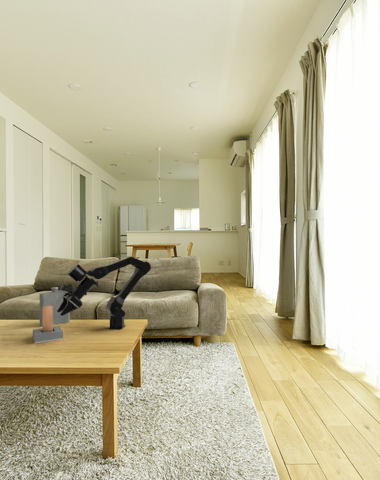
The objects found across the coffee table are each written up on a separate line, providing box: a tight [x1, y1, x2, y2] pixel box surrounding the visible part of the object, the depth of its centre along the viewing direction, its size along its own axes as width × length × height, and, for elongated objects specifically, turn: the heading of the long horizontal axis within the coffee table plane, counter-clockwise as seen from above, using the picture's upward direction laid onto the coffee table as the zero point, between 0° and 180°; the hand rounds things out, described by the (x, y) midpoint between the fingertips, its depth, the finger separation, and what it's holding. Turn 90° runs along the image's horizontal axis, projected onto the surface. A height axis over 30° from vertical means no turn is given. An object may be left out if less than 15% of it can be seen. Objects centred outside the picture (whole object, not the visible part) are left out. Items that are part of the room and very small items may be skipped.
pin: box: [41, 306, 54, 333], centre depth 144 cm, size 4×4×14 cm
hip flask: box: [39, 286, 71, 328], centre depth 171 cm, size 16×4×20 cm, turn 132°
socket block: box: [32, 325, 64, 344], centre depth 143 cm, size 12×12×4 cm
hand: (59, 313), depth 146 cm, fingers open, 9 cm apart
